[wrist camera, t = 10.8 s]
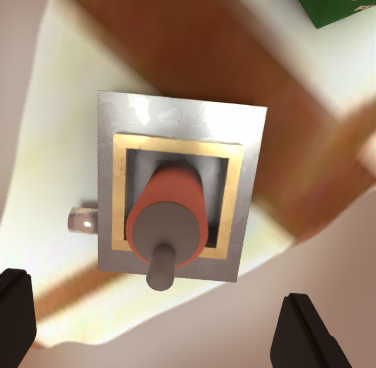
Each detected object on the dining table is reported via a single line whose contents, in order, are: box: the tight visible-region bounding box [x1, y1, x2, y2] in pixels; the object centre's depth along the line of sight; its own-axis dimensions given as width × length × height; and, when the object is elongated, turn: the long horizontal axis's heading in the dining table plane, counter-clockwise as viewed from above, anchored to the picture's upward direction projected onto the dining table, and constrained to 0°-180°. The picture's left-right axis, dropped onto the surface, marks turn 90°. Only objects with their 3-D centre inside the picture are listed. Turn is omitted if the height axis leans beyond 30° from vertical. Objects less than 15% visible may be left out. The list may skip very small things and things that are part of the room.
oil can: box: [126, 160, 208, 291], centre depth 20 cm, size 5×5×13 cm
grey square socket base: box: [68, 90, 267, 282], centre depth 25 cm, size 16×16×5 cm
